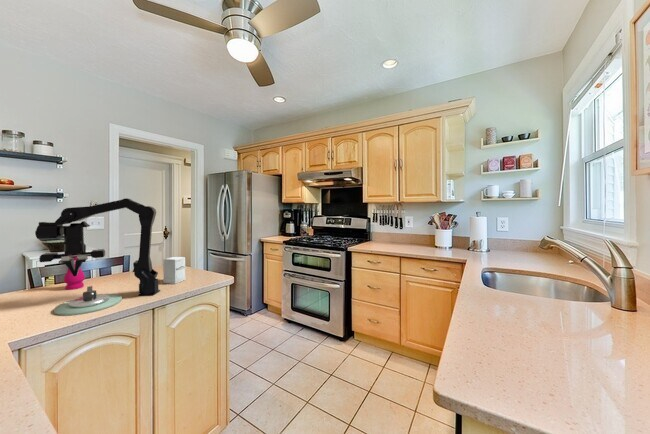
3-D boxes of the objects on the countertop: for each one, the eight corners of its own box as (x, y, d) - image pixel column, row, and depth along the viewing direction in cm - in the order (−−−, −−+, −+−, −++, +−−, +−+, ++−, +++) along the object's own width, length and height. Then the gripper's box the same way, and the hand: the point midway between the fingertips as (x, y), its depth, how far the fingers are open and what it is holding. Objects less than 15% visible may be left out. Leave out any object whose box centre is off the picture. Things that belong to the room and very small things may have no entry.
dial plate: (132, 295, 115) (132, 292, 114) (98, 314, 95) (98, 310, 95) (83, 297, 112) (82, 294, 112) (37, 316, 92) (37, 313, 92)
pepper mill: (74, 290, 121) (73, 248, 120) (59, 290, 121) (58, 247, 120) (89, 285, 128) (87, 245, 127) (74, 285, 128) (73, 245, 127)
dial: (110, 302, 103) (109, 292, 103) (67, 310, 95) (67, 299, 95) (108, 292, 114) (108, 283, 114) (70, 298, 106) (70, 289, 106)
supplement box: (175, 284, 131) (174, 259, 130) (163, 283, 133) (162, 258, 132) (186, 280, 138) (185, 256, 138) (174, 279, 140) (173, 256, 139)
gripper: (106, 235, 117) (107, 269, 118) (47, 237, 106) (48, 274, 107) (103, 237, 108) (104, 274, 109) (38, 240, 97) (39, 281, 98)
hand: (75, 276), depth 106 cm, fingers closed
